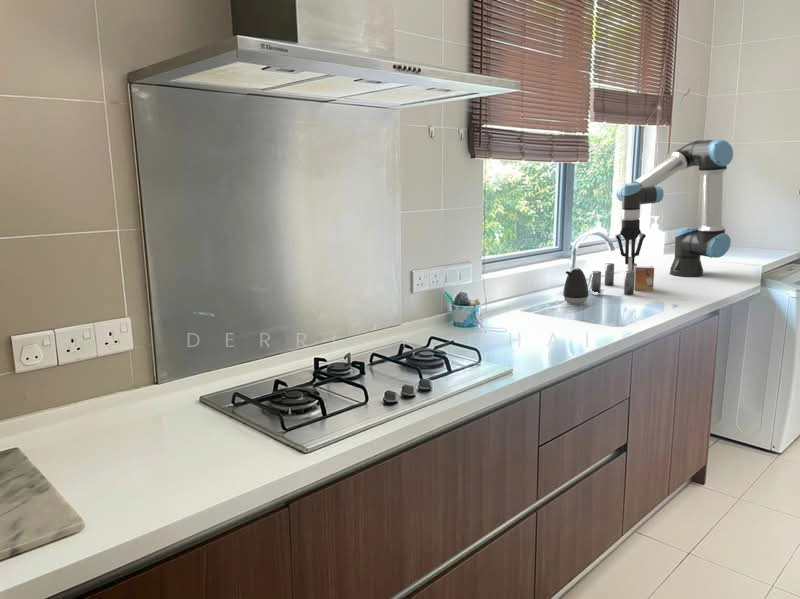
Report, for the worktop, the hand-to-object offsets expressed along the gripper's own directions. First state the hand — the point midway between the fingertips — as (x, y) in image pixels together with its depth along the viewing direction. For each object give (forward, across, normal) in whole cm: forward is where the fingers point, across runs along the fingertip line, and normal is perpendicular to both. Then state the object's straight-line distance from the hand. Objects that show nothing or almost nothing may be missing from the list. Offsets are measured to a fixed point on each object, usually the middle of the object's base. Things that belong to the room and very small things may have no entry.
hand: (629, 271), depth 288 cm
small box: (+9, -6, 0) cm, 11 cm away
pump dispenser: (+8, +26, +29) cm, 40 cm away
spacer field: (+8, +7, 0) cm, 11 cm away
